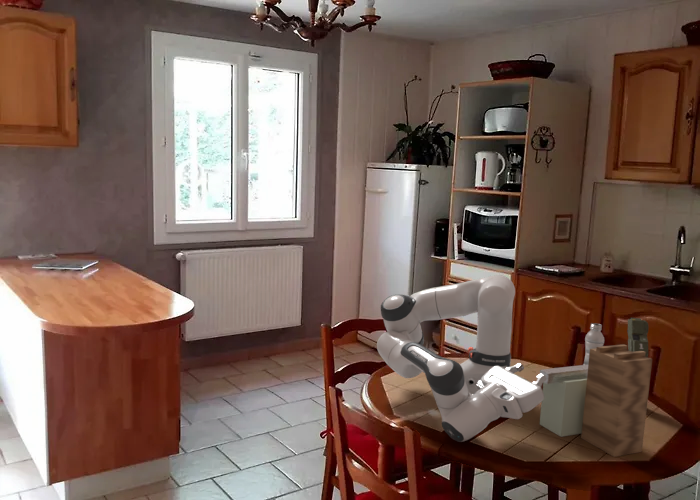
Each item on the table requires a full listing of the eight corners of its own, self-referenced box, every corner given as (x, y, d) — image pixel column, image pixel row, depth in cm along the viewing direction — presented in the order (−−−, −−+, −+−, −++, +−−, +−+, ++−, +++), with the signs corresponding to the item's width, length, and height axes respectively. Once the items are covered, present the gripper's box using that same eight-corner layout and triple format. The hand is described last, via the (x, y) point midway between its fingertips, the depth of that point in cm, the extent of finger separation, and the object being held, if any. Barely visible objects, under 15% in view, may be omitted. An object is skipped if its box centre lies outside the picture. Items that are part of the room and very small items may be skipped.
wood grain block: (614, 456, 166) (624, 357, 162) (581, 438, 177) (590, 344, 173) (641, 451, 170) (652, 354, 166) (607, 433, 181) (617, 342, 177)
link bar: (547, 383, 176) (548, 373, 176) (539, 379, 179) (540, 369, 179) (599, 377, 184) (600, 367, 183) (590, 373, 187) (591, 364, 186)
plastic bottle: (599, 381, 226) (604, 327, 224) (579, 377, 230) (584, 324, 227) (602, 377, 232) (607, 324, 229) (583, 373, 235) (588, 321, 233)
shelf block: (560, 436, 177) (565, 382, 175) (539, 424, 185) (544, 372, 183) (593, 431, 182) (598, 378, 180) (571, 419, 190) (576, 368, 188)
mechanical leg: (651, 416, 193) (655, 318, 196) (626, 413, 194) (630, 316, 198) (639, 410, 207) (643, 319, 210) (615, 407, 208) (620, 317, 211)
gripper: (477, 394, 182) (513, 367, 186) (522, 422, 163) (561, 392, 167) (469, 377, 180) (505, 350, 184) (514, 403, 161) (553, 373, 165)
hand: (532, 370), depth 175 cm, fingers open, 8 cm apart
